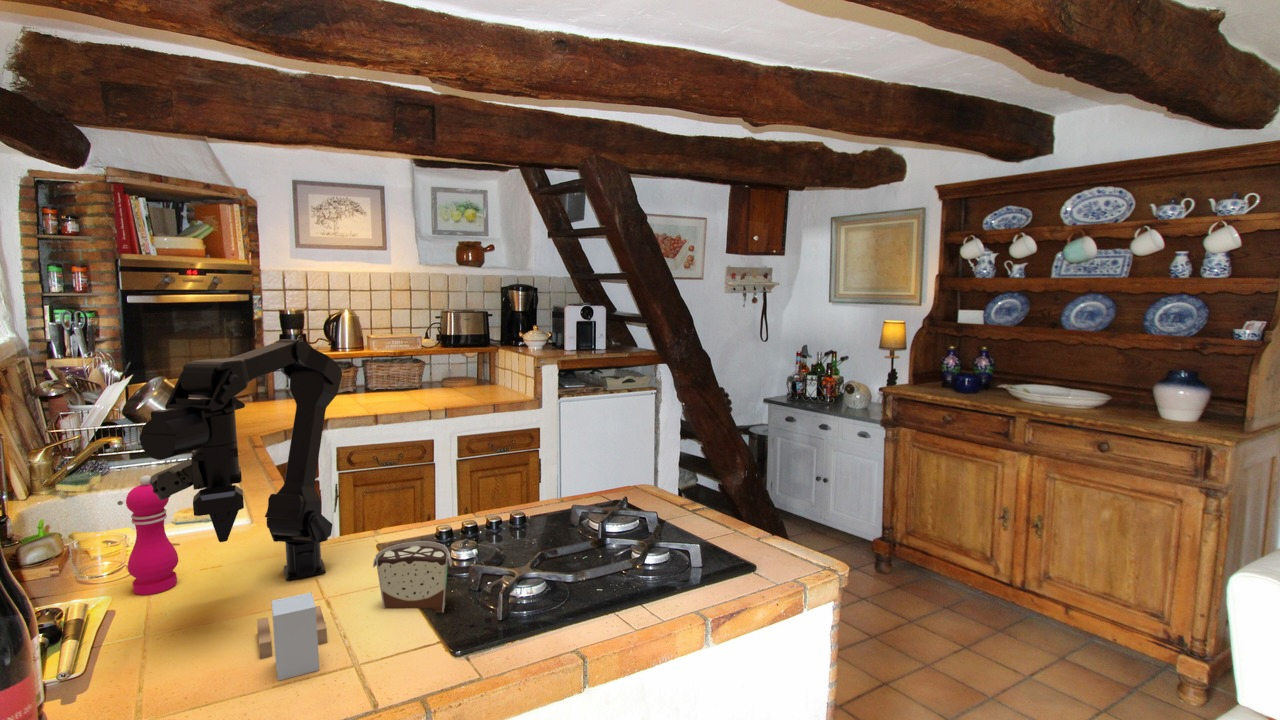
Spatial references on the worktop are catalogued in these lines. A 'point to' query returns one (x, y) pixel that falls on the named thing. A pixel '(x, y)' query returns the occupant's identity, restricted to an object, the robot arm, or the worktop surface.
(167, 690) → the worktop surface
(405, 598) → the food container
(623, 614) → the worktop surface
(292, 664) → the block
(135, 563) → the pepper mill
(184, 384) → the robot arm
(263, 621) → the tan cradle
